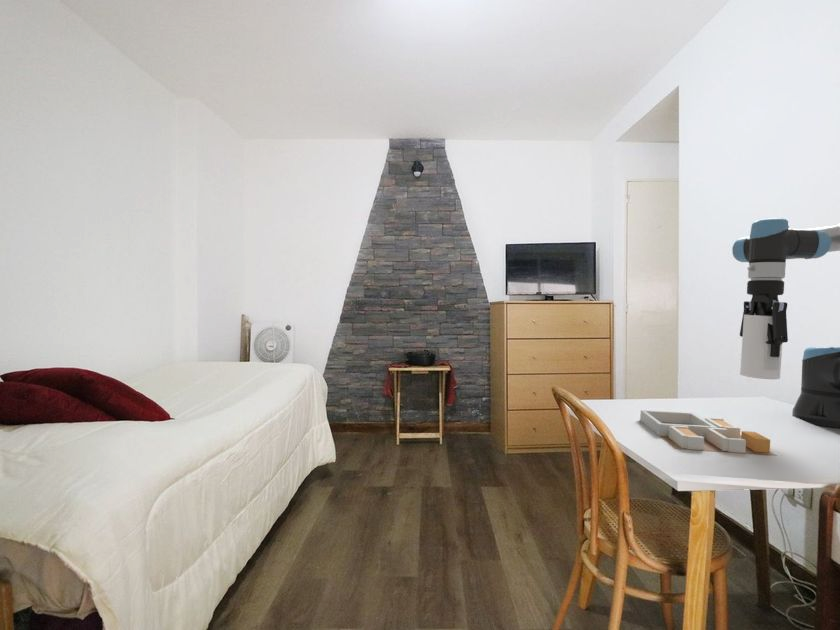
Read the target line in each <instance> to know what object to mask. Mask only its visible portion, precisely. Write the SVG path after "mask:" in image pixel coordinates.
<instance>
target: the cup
mask: <svg viewBox="0 0 840 630" xmlns="http://www.w3.org/2000/svg"><path fill="white" fill-rule="evenodd" d="M768 323H769V324H772V325H773V320H772V316H756V315H744V321H743V337H741V338H742V340H741V354H740V357H741V359H740V369H739V370H740V371H739V374H740V375H741V376H743V377H747V378H753V379H761V380H780V379H781V369H782V367H781V366H782V355H783V354H782V353H783V352H782V351H783V343H782V344H781V345H780V355H779V366H778V370H766V369H764V368H765V352H766V342H767V341H768V337H767V328H768ZM773 339H774V338H773Z"/></svg>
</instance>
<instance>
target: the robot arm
mask: <svg viewBox="0 0 840 630" xmlns="http://www.w3.org/2000/svg"><path fill="white" fill-rule="evenodd" d="M731 250H732V256H733V258H734V259H735V260H736V261H738V262H740V263H748V266H747V271H748V272H747V278H748V279H750V280H748V281H747V283H746V285H747V286H746V294H747V295H750V296H751V299H750V300H749V301H746V300H745V301H743V313H742V318H741V325H740V331H739V337H741V338H742V337H743V321H744V315H756V316H772V320H773V325H772V324H769V323H768V328H767V337H768V341H767V342H766V352H765V368H764V369H766V370H778V366H779V355H780V345H781V344H782V345H783V344H784V343H788V341H789V337H788V335H789V334H788V322H787V310H788V309H787V308H788V303H787V302H786V301H785V302H784V301H779V297H778V296H782V295H784V293H785V281H784V280H783V279H785V277H786V265H787V263H786V262H787V260H795V259H804V260H810V259H818V258H819V259H820V258H822V257H824V256H825V255H827V253H831V252H837V251H838V252H840V223H838V224H837V225H830V226H823V227H822V226H821V227H814V228H790V226H789V220H788V219H785V218H783V217H782V218H779V217H777V218H776V217H775V218H764V219H758V220H755V221H754V222H753V223H751V226H750V234H749V236H743V237H740V238H738V239H737V240H736V241H735V242H733V245H732V249H731ZM773 338H774V339H773ZM801 363H802V364H801V365H802V366H801V382H800V383H801V388H800V390H801V391H800V394H799V396H798V398H797V400H796V402H795V404H794V407H793V408H792V414H791V417H794V418H796V419H798V420H802V422H803V421H804V422H805V423H809V424H812V425H813V424H814V425H818V426H822V427H829V428H837V429H840V346H833V347H832V346H817V347H816V346H810V347H807V348H806V349H804V351H803V355H802V360H801Z"/></svg>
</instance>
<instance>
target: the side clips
mask: <svg viewBox="0 0 840 630" xmlns="http://www.w3.org/2000/svg"><path fill="white" fill-rule="evenodd" d="M704 420H706V421H707V422H709V423H711V424H713V425H714V426H716V427H718V428H725V429H727V438H738V439H740V435H741V428H740V427H739V426H734V425H732V424H729V423H728V422H726V421H725V420H724V418H720V417H704ZM669 438H670V439H671V440H673V441H674V442H675V443H676V444H678V445H679V446H680V447H681V448H687V449H694V450H693V451H696V450H704V437H702V436H698V435H696V434H695V433H693V432H692V431H690V430H689V427H687V426H673V425H672V426H669Z"/></svg>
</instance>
